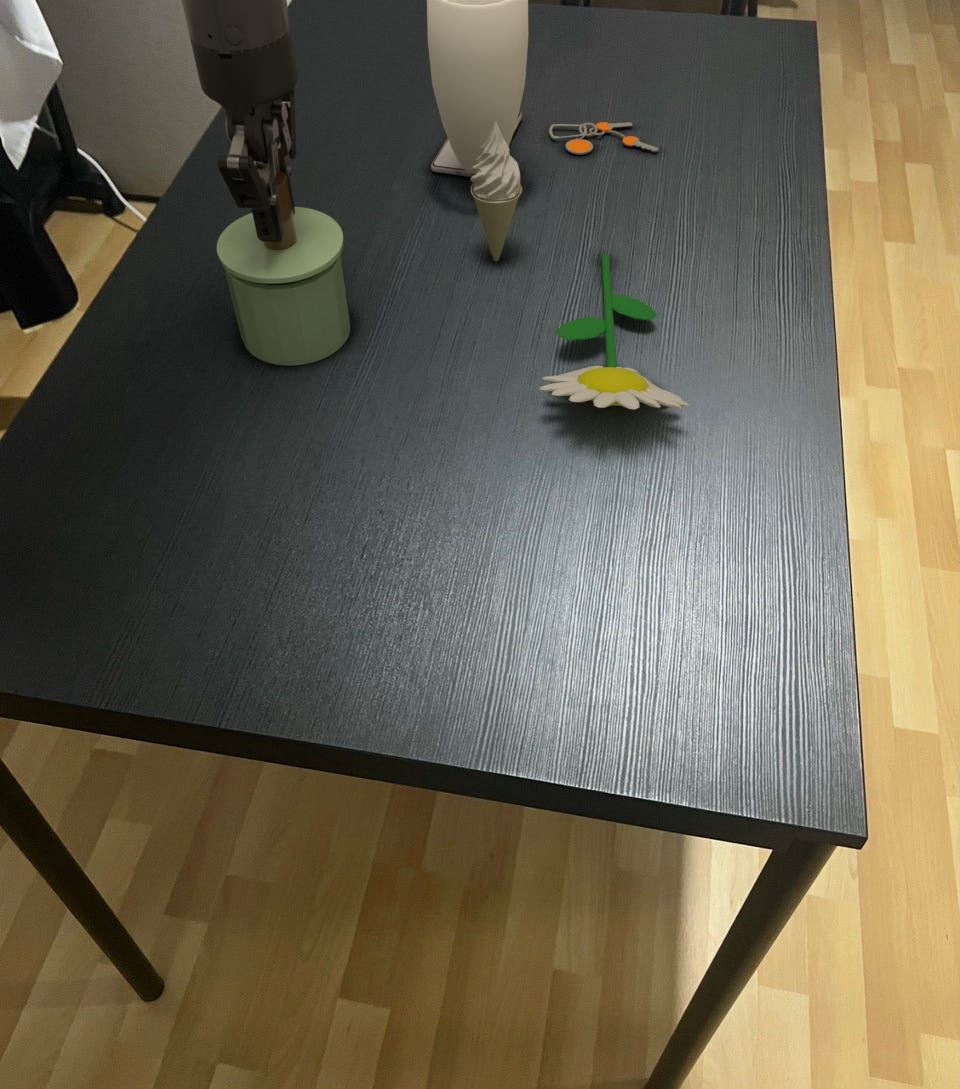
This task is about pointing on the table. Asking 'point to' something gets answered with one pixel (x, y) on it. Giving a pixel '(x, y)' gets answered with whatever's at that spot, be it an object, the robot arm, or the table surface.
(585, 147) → the key chain
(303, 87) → the table surface
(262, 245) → the lid
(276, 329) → the tin
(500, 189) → the ice cream cone
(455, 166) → the smartphone
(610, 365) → the decorative flower
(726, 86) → the table surface
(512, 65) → the cream vase
